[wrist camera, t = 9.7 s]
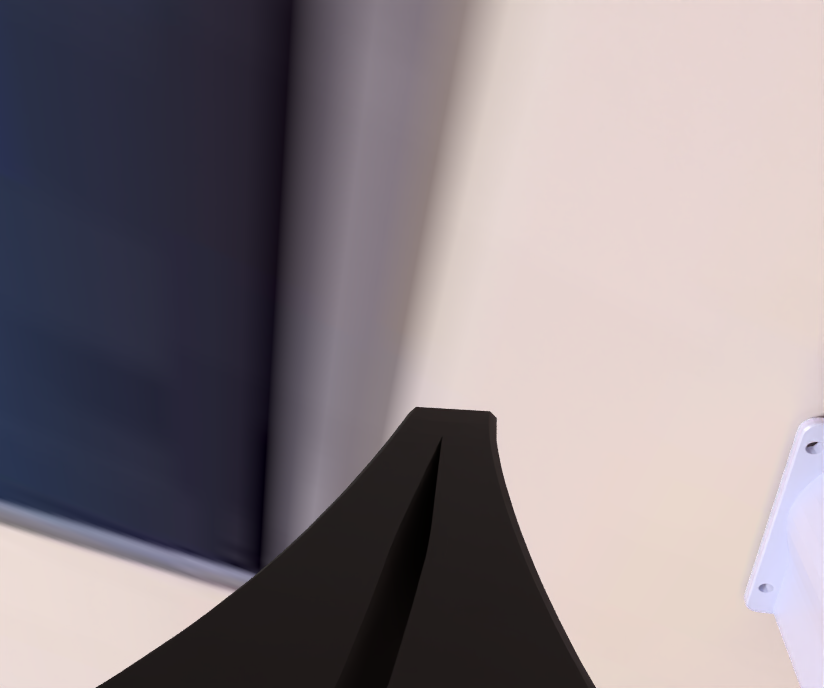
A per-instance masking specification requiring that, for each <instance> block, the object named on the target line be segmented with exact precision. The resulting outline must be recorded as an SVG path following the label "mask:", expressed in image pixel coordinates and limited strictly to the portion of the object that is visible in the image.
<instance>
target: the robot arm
mask: <svg viewBox="0 0 824 688" xmlns="http://www.w3.org/2000/svg"><path fill="white" fill-rule="evenodd" d="M496 434H497V418H496V417H495V416H494V415H493V414H492V413H491V412H490V411H474V410H458V409H441V408H424V407H415V408H414V409H413V410H412V411H411V412H410V413H409V414H408V415H407V417H406V418H405V419H404V421H403V422H402V423H401V424H400V426H399V427H398V428H397V430H396V431H395V432H394V434H393V435H392V436H391V437H390V439H389V440H388V441H387V442H386V444H385V445H384V446H383V447H382V448H381V450H380V451H379V452H378V453H377V454H376V456H375V457H374V458H373V459H372V460H371V462H370V463H369V464H368V465H367V466H366V467H365V468H364V469H363V471H362V472H361V473H360V474H359V475H358V476H357V477H356V479H355V480H354V481H353V482H352V483H351V484H350V485H349V486H348V488H347V489H346V490H345V491H344V492H343V493H342V494H341V495H340V496H339V497H338V498H337V499H336V500H335V501H334V502H333V503H332V504H331V505H330V506H329V507H328V508H327V509H326V510H325V511H324V512H323V513H322V514H321V515H320V516H319V518H318V519H317V520H316V521H315V522H314V523H313V524H312V525H311V526H310V527H309V528H308V529H307V530H306V531H304V532H303V533H302V534H301V535H300V536H299V537H298V538H297V539H296V540H295V541H294V542H293V543H292V544H291V545H290V546H288V547H287V548H286V549H285V550H284V551H283V552H282V553H281V554H279V555H278V556H277V557H276V558H275V559H274V560H273V561H271V562H270V563H269V564H268V565H267V566H266V567H264V568H263V569H262V570H261V571H260V572H259V573H257V574H256V575H255V576H254V577H253V578H251V579H250V580H249V581H248V582H246V583H245V584H244V585H243V586H241V587H240V588H239V589H237V590H236V591H235V592H234V593H232V594H231V595H230V596H228V597H227V598H226V599H225V600H223V601H222V602H221V603H220V604H218V605H217V606H216V607H214V608H213V609H212V610H211V611H209V612H208V613H207V614H205V615H204V616H202V617H201V618H200V619H198V620H197V621H196V622H194V623H193V624H192V625H190V626H189V627H187V628H186V629H185V630H183V631H182V632H180V633H179V634H177V635H176V636H174V637H173V638H171V639H170V640H168V641H167V642H165V643H164V644H162V645H161V646H159V647H158V648H156V649H155V650H153V651H152V652H150V653H149V654H147V655H146V656H144V657H143V658H141V659H140V660H138V661H137V662H135V663H134V664H132V665H131V666H129V667H128V668H126V669H125V670H123V671H122V672H120V673H119V674H117V675H115V676H114V677H112V678H111V679H109V680H108V681H106V682H104V683H103V684H101V685H99V686H98V687H96V688H596V687H595V685H594V684H593V682H592V680H591V679H590V677H589V675H588V673H587V672H586V670H585V668H584V666H583V665H582V663H581V661H580V659H579V657H578V656H577V654H576V652H575V650H574V648H573V646H572V644H571V642H570V640H569V638H568V636H567V634H566V632H565V630H564V628H563V626H562V624H561V622H560V621H559V619H558V616H557V614H556V612H555V610H554V608H553V606H552V604H551V602H550V600H549V597H548V595H547V593H546V591H545V589H544V587H543V584H542V582H541V580H540V578H539V575H538V573H537V571H536V568H535V566H534V564H533V561H532V559H531V556H530V554H529V551H528V548H527V546H526V543H525V541H524V538H523V536H522V533H521V530H520V527H519V525H518V522H517V519H516V516H515V513H514V510H513V507H512V503H511V500H510V497H509V494H508V490H507V487H506V484H505V480H504V476H503V472H502V468H501V463H500V458H499V454H498V448H497V440H496ZM811 442H818V443H817V444H816V445H814V446H809V447H807V445H808V444H809V443H811ZM744 601H745V604H746V606H747V607H748V609H750V610H752V611H755V612H762V613H770V614H774V616H775V619H776V622H777V624H778V627H779V630H780V633H781V635H782V638H783V641H784V644H785V646H786V649H787V652H788V655H789V657H790V660H791V663H792V665H793V668H794V671H795V674H796V676H797V679H798V682H799V685H800V687H801V688H824V418H821V417H817V418H810V419H808V420H805V421H804V422H803V423H801V424H800V426H799V427H798V429H797V433H796V436H795V439H794V442H793V445H792V448H791V451H790V454H789V457H788V460H787V464H786V467H785V470H784V473H783V476H782V479H781V482H780V485H779V488H778V492H777V495H776V498H775V501H774V504H773V507H772V510H771V513H770V516H769V519H768V523H767V526H766V529H765V532H764V535H763V538H762V541H761V544H760V547H759V550H758V554H757V557H756V560H755V563H754V566H753V569H752V572H751V575H750V578H749V581H748V585H747V588H746V591H745V594H744Z"/></svg>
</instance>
